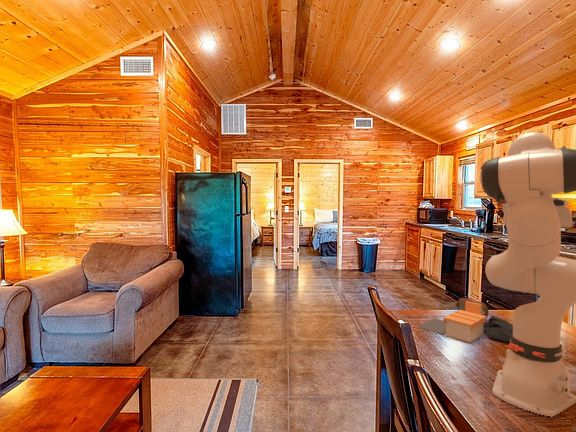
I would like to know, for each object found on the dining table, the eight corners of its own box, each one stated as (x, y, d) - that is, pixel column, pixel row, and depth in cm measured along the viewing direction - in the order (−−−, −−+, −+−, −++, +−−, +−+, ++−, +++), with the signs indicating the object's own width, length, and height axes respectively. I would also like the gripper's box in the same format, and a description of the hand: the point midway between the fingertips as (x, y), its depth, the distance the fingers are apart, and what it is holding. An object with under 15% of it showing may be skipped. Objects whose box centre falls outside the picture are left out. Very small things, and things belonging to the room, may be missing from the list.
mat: (443, 335, 131) (443, 334, 131) (416, 327, 140) (416, 326, 140) (459, 326, 141) (459, 325, 141) (434, 318, 150) (434, 318, 150)
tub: (469, 343, 123) (469, 325, 123) (446, 336, 130) (446, 319, 130) (483, 334, 132) (483, 317, 132) (460, 327, 139) (460, 312, 139)
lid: (471, 330, 122) (471, 314, 122) (443, 322, 130) (443, 307, 130) (487, 320, 132) (487, 305, 132) (460, 314, 141) (461, 299, 140)
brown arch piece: (455, 312, 159) (456, 296, 159) (460, 311, 160) (460, 295, 160) (485, 322, 145) (485, 304, 145) (489, 321, 147) (489, 303, 146)
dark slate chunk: (482, 340, 127) (482, 329, 126) (479, 323, 146) (479, 313, 146) (529, 349, 119) (530, 336, 119) (519, 329, 139) (519, 318, 139)
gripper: (503, 202, 120) (502, 238, 120) (574, 201, 109) (573, 240, 110) (501, 202, 125) (501, 236, 126) (569, 201, 115) (568, 239, 115)
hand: (535, 238), depth 118 cm, fingers open, 8 cm apart
